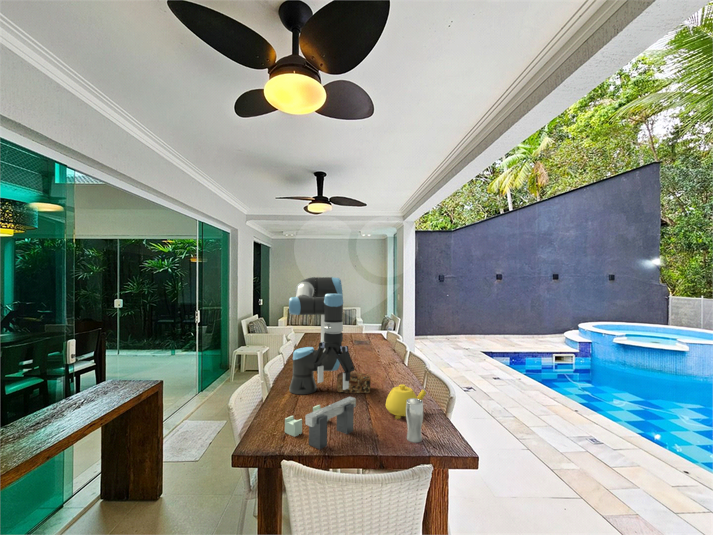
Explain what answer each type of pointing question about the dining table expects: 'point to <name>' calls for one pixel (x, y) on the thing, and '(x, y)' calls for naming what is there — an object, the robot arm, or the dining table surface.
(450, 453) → the dining table surface
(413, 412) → the beer glass
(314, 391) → the robot arm
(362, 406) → the dining table surface
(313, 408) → the rest
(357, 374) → the bread
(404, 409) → the teapot
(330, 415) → the rail
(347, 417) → the post
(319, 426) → the post
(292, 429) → the rest
